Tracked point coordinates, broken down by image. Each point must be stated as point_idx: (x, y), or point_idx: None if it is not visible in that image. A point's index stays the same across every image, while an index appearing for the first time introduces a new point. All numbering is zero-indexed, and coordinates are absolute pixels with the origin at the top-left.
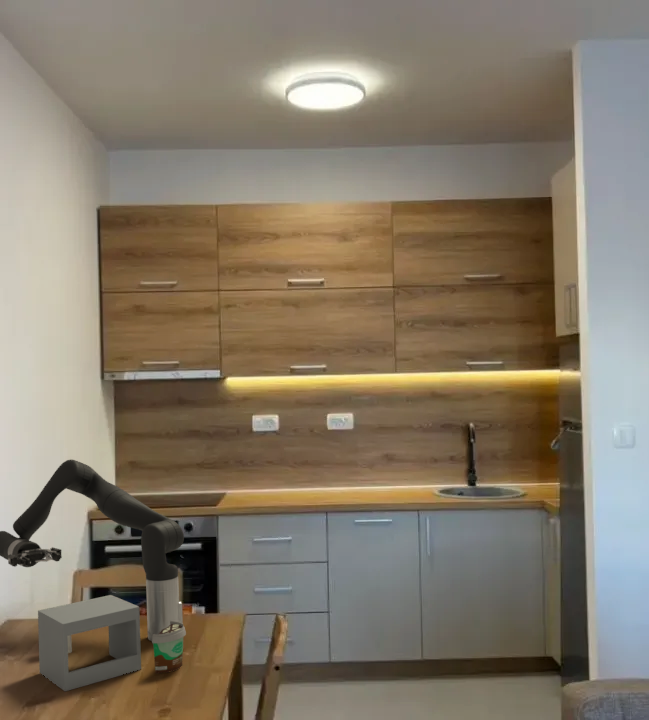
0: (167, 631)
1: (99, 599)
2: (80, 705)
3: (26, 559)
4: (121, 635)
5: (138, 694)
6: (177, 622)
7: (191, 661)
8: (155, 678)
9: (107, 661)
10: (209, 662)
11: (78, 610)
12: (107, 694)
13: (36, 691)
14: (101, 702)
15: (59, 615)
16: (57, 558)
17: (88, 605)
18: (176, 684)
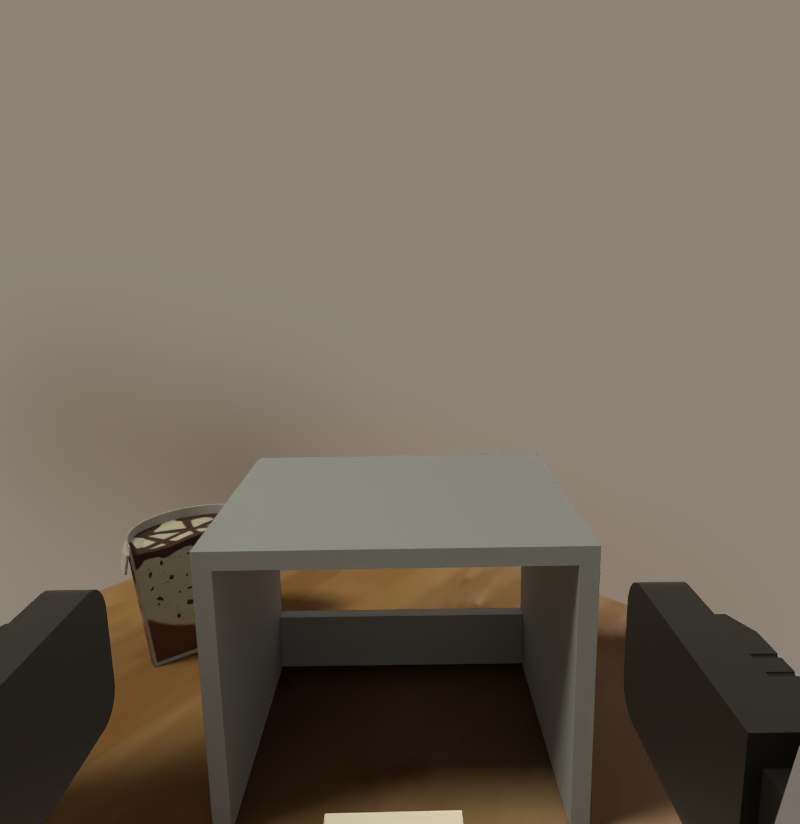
0: (203, 527)
1: (283, 534)
2: (519, 591)
3: (698, 610)
4: (255, 636)
5: (383, 575)
6: (127, 537)
7: (133, 633)
8: (293, 608)
9: (382, 615)
10: (118, 610)
11: (439, 494)
12: (440, 600)
13: (618, 696)
14: (471, 582)
15: (524, 489)
16: (107, 653)
17: (374, 510)
18: (286, 572)
